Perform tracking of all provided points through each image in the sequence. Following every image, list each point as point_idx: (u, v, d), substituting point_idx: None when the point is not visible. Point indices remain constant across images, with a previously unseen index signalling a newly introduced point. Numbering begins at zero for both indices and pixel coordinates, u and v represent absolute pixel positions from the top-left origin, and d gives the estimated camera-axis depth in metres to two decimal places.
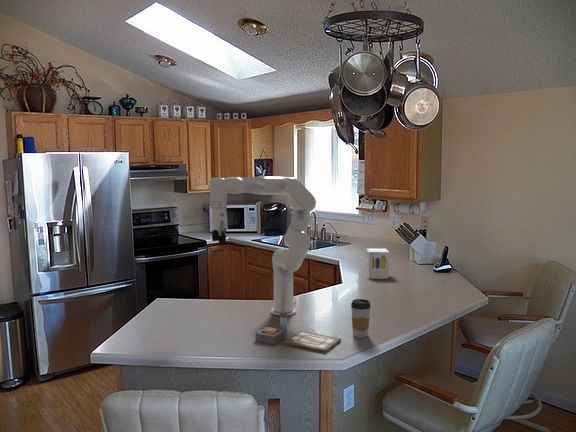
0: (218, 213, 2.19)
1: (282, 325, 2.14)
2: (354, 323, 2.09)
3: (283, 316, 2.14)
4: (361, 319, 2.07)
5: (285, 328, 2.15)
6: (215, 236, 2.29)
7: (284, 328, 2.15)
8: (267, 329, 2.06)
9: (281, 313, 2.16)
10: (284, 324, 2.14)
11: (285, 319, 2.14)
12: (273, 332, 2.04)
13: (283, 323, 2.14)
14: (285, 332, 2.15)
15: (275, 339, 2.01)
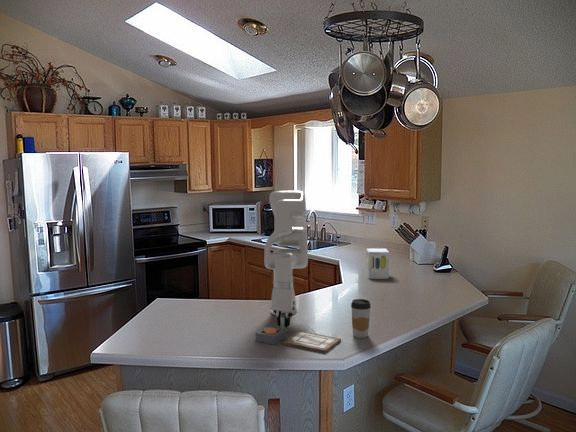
0: None
1: (282, 325, 2.15)
2: (354, 323, 2.09)
3: (283, 316, 2.14)
4: (361, 319, 2.07)
5: (285, 328, 2.15)
6: None
7: (284, 328, 2.15)
8: (267, 329, 2.06)
9: (281, 313, 2.16)
10: (284, 324, 2.14)
11: None
12: (273, 332, 2.04)
13: (283, 323, 2.14)
14: (285, 332, 2.15)
15: (275, 339, 2.01)
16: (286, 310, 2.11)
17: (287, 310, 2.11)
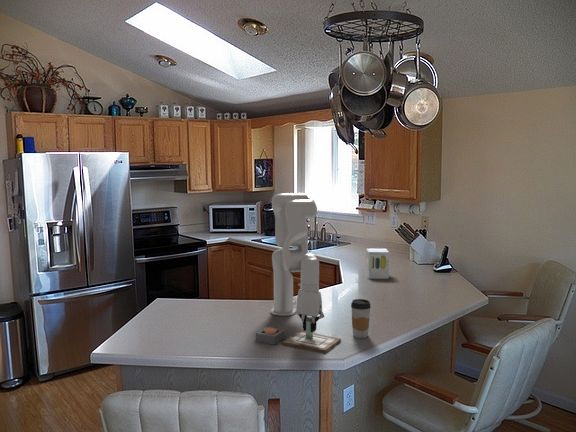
0: None
1: (308, 330, 2.03)
2: (354, 323, 2.09)
3: (309, 320, 2.02)
4: (361, 319, 2.07)
5: (311, 333, 2.03)
6: None
7: (310, 333, 2.03)
8: (267, 329, 2.06)
9: (307, 317, 2.04)
10: (310, 329, 2.03)
11: None
12: (273, 332, 2.04)
13: (308, 328, 2.03)
14: (311, 337, 2.03)
15: (275, 339, 2.01)
16: (313, 314, 2.00)
17: (313, 315, 1.99)
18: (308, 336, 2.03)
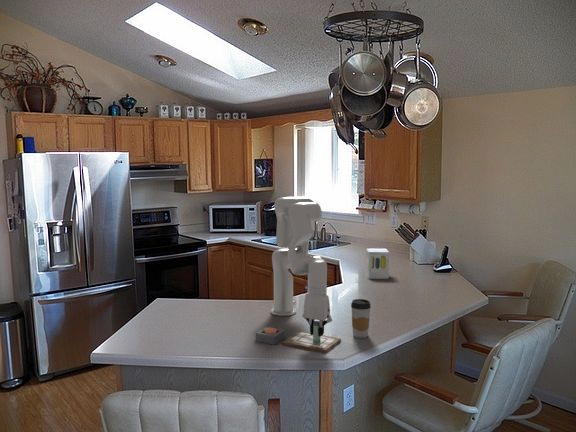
0: None
1: (315, 334, 1.98)
2: (354, 323, 2.09)
3: (316, 324, 1.97)
4: (361, 319, 2.07)
5: (318, 337, 1.98)
6: None
7: (317, 337, 1.98)
8: (267, 329, 2.06)
9: (314, 321, 1.99)
10: (317, 333, 1.98)
11: None
12: (273, 332, 2.04)
13: (316, 332, 1.98)
14: None
15: (275, 339, 2.01)
16: (320, 318, 1.95)
17: (321, 319, 1.95)
18: (315, 340, 1.98)
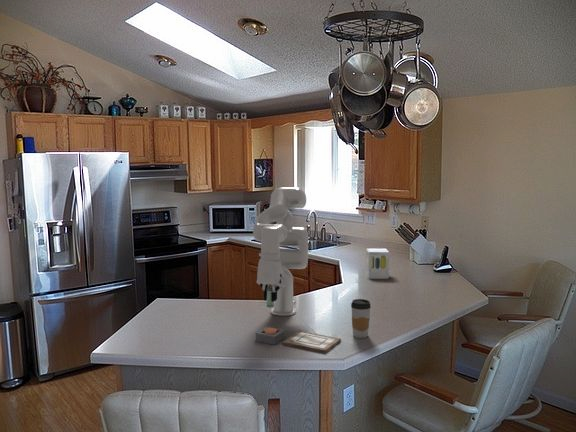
0: None
1: (268, 299, 2.03)
2: (354, 323, 2.09)
3: (269, 290, 2.03)
4: (361, 319, 2.07)
5: (272, 302, 2.04)
6: None
7: (271, 302, 2.03)
8: (267, 329, 2.06)
9: (268, 287, 2.05)
10: None
11: None
12: (273, 332, 2.04)
13: (269, 297, 2.03)
14: None
15: (275, 339, 2.01)
16: (273, 283, 2.00)
17: (273, 283, 2.00)
18: (269, 305, 2.03)
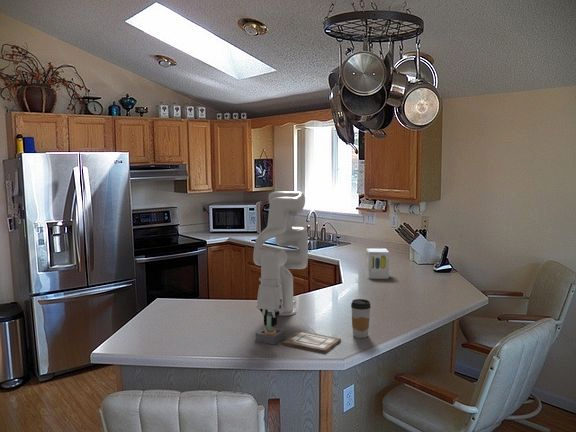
0: None
1: (268, 324, 2.04)
2: (354, 323, 2.09)
3: (269, 315, 2.04)
4: (361, 319, 2.07)
5: (272, 327, 2.05)
6: None
7: (270, 327, 2.04)
8: None
9: (268, 312, 2.06)
10: None
11: None
12: (273, 333, 2.04)
13: (269, 322, 2.04)
14: None
15: (275, 339, 2.01)
16: (273, 308, 2.01)
17: (273, 309, 2.01)
18: (269, 330, 2.05)
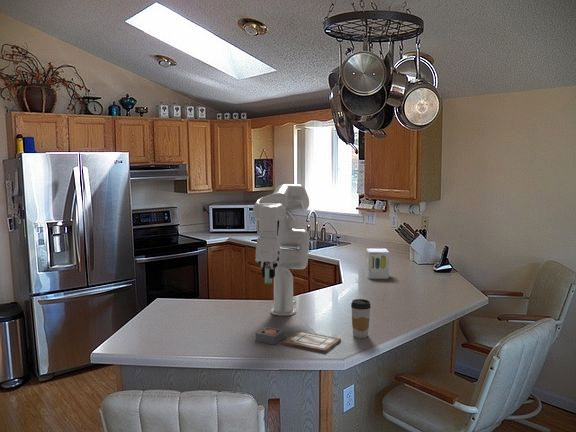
0: None
1: (266, 276, 2.09)
2: (354, 323, 2.09)
3: (267, 267, 2.08)
4: (361, 319, 2.07)
5: (270, 279, 2.09)
6: None
7: (268, 279, 2.09)
8: (267, 331, 2.06)
9: (266, 264, 2.10)
10: (268, 275, 2.09)
11: None
12: (273, 334, 2.04)
13: (267, 274, 2.08)
14: (270, 283, 2.09)
15: (275, 339, 2.01)
16: (271, 260, 2.05)
17: (271, 260, 2.05)
18: (267, 282, 2.09)
